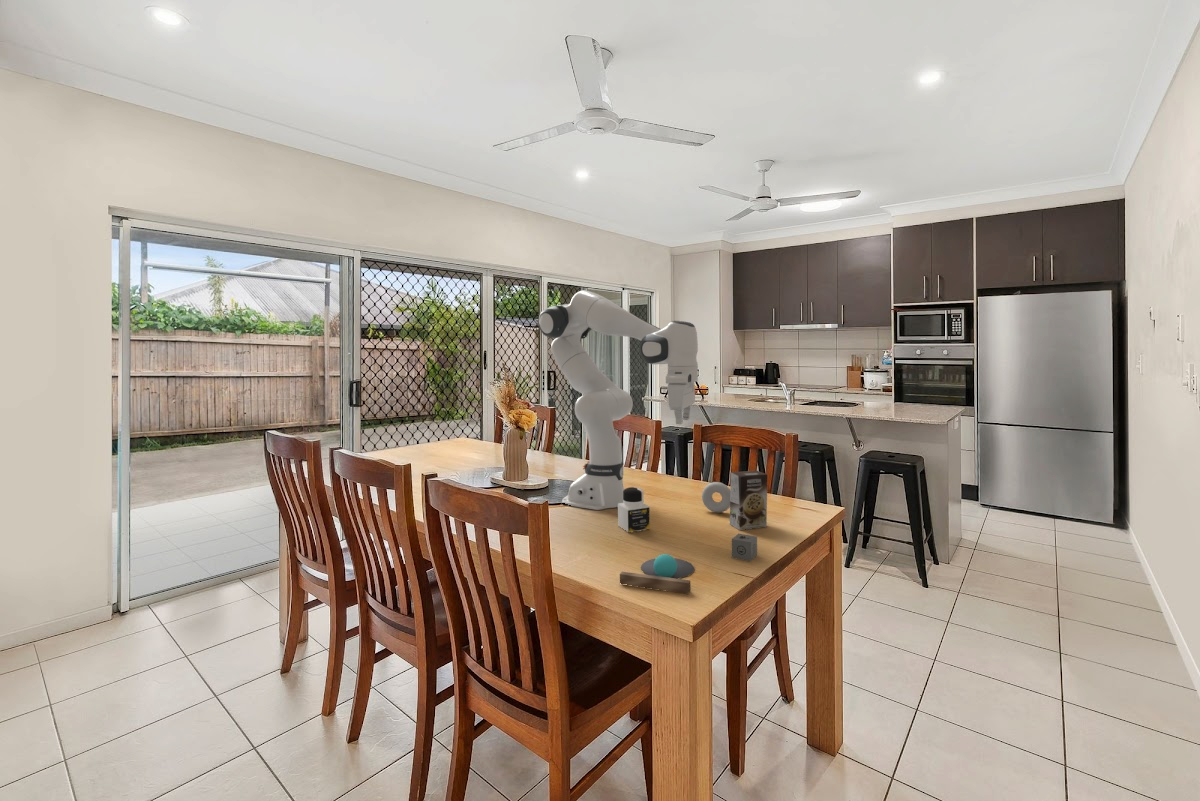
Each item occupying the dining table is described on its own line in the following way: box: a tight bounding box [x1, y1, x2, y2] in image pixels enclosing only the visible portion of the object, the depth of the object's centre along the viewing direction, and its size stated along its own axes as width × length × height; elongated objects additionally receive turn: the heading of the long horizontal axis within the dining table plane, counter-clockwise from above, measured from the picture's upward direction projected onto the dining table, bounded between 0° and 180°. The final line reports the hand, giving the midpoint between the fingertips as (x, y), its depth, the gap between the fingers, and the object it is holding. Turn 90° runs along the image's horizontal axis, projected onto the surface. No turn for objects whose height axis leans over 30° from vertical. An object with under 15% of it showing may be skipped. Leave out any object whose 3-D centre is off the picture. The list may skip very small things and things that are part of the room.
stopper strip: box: [619, 571, 691, 595], centre depth 131 cm, size 16×2×2 cm, turn 70°
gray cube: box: [731, 533, 758, 562], centre depth 149 cm, size 5×5×5 cm
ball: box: [654, 553, 677, 578], centre depth 136 cm, size 6×6×6 cm
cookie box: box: [729, 470, 768, 531], centre depth 172 cm, size 9×6×16 cm
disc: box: [640, 557, 695, 579], centre depth 142 cm, size 13×13×1 cm
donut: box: [701, 481, 730, 514], centre depth 187 cm, size 10×4×10 cm, turn 64°
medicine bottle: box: [617, 486, 650, 533], centre depth 173 cm, size 7×7×12 cm
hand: (682, 421), depth 174 cm, fingers open, 8 cm apart
